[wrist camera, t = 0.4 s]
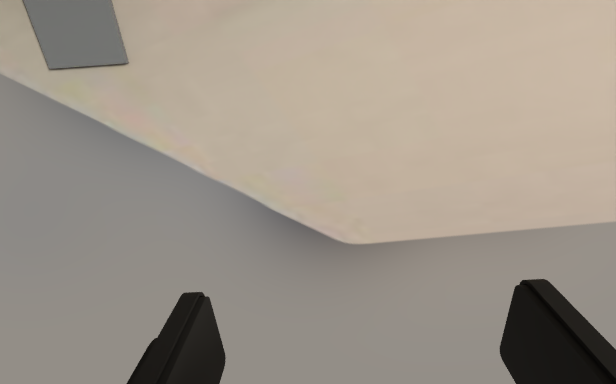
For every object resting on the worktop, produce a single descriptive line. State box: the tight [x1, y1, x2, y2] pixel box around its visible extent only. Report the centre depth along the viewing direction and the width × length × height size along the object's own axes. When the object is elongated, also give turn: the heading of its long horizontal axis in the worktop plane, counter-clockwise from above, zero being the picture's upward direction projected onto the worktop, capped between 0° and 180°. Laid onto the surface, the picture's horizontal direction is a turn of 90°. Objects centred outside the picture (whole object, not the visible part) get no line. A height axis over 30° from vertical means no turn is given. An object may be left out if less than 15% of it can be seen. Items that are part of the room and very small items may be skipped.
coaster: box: [23, 0, 129, 69], centre depth 34 cm, size 9×9×1 cm
